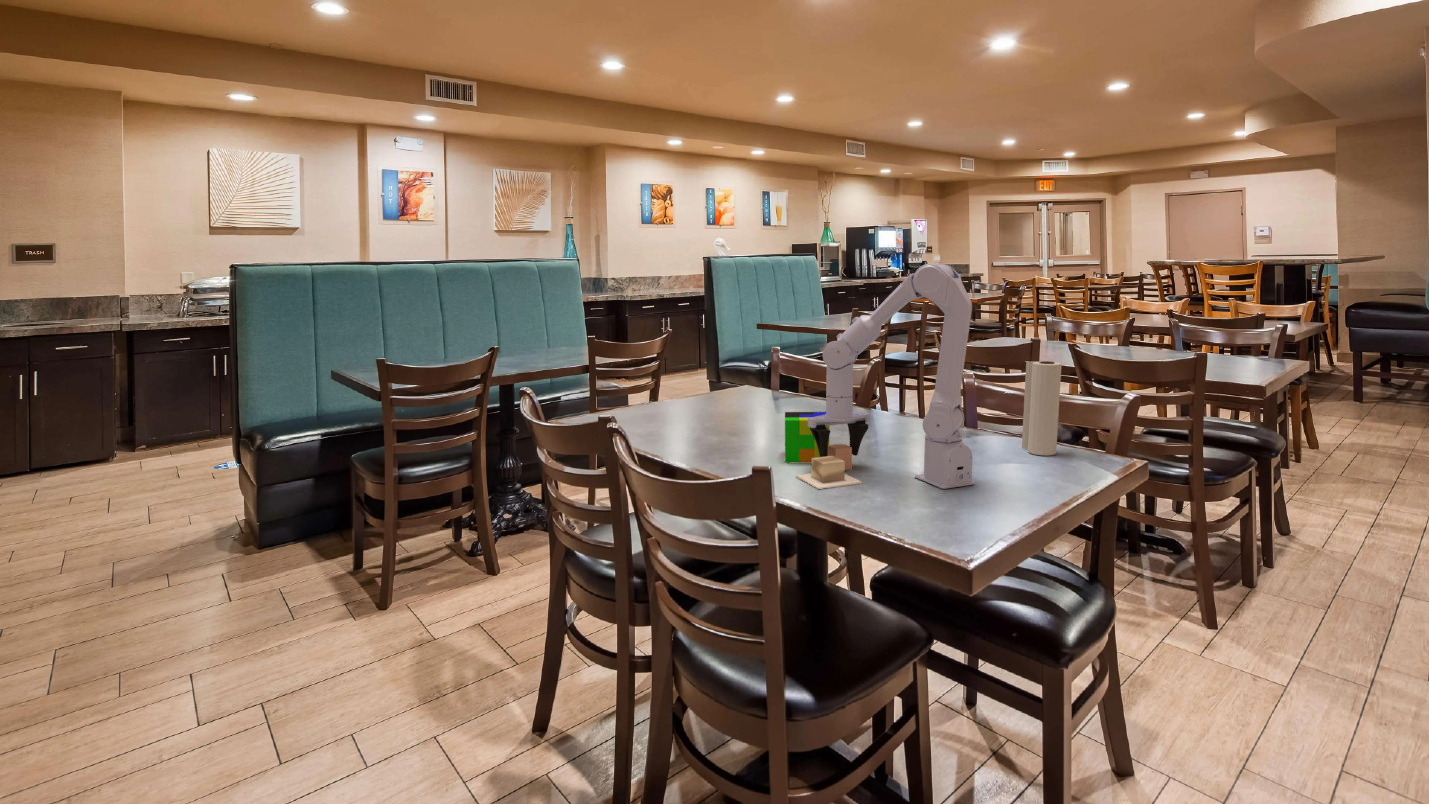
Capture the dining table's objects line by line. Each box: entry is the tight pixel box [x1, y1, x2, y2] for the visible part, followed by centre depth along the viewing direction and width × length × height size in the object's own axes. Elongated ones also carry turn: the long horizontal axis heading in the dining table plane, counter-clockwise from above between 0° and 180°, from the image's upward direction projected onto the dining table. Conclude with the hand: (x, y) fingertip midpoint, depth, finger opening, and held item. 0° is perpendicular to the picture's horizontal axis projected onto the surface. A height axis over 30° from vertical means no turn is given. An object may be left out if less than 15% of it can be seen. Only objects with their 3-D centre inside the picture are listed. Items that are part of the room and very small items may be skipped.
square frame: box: [795, 472, 863, 490], centre depth 153 cm, size 10×10×1 cm
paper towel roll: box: [1021, 360, 1063, 456], centre depth 169 cm, size 7×6×21 cm
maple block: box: [811, 456, 846, 483], centre depth 152 cm, size 5×5×4 cm
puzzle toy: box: [784, 411, 830, 463], centre depth 171 cm, size 10×10×10 cm
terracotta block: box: [828, 443, 853, 471], centre depth 162 cm, size 4×4×5 cm
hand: (838, 456), depth 162 cm, fingers open, 7 cm apart
